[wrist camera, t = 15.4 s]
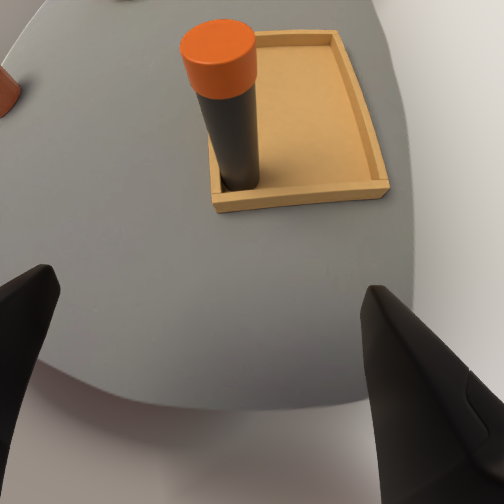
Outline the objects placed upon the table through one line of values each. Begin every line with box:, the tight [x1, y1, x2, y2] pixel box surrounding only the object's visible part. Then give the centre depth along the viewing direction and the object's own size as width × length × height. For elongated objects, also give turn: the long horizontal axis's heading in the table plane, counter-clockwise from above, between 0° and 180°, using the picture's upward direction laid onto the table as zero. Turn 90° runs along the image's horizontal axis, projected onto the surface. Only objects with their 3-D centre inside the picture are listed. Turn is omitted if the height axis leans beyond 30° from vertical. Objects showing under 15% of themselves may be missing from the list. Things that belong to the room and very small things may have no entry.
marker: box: [180, 19, 260, 192], centre depth 15 cm, size 3×3×12 cm
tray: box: [208, 30, 390, 213], centre depth 21 cm, size 15×11×2 cm
